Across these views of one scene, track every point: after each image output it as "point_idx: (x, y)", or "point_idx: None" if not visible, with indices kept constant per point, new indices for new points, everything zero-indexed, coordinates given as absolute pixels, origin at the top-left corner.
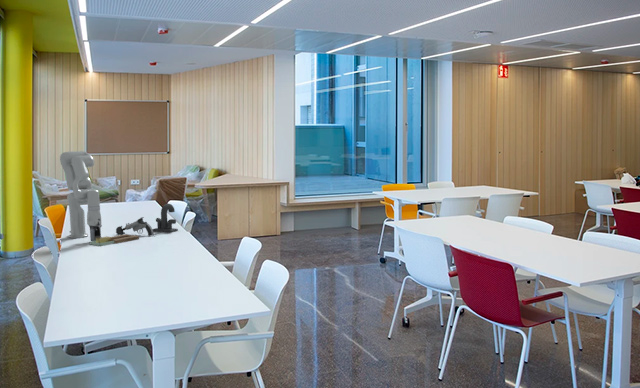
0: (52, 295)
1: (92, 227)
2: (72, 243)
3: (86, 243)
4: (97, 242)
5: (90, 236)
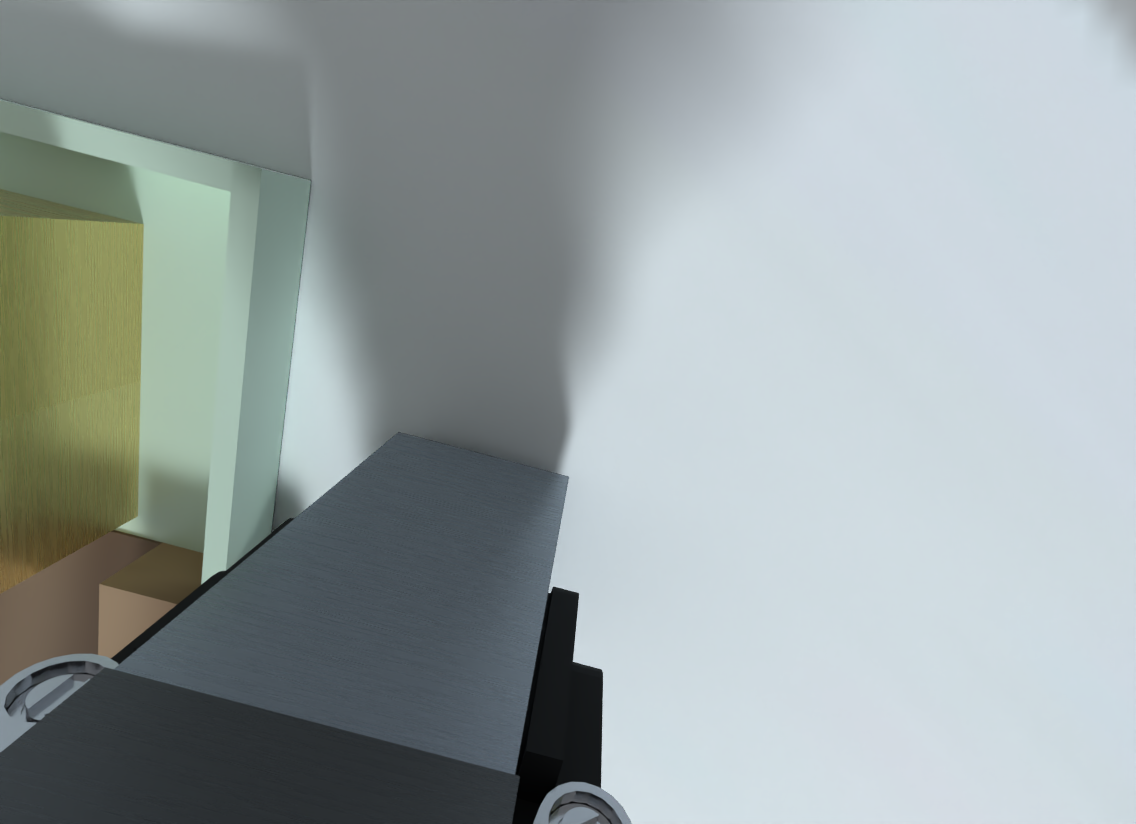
0: None
1: (150, 769)
2: (963, 170)
3: (553, 302)
4: (17, 201)
5: (551, 533)
